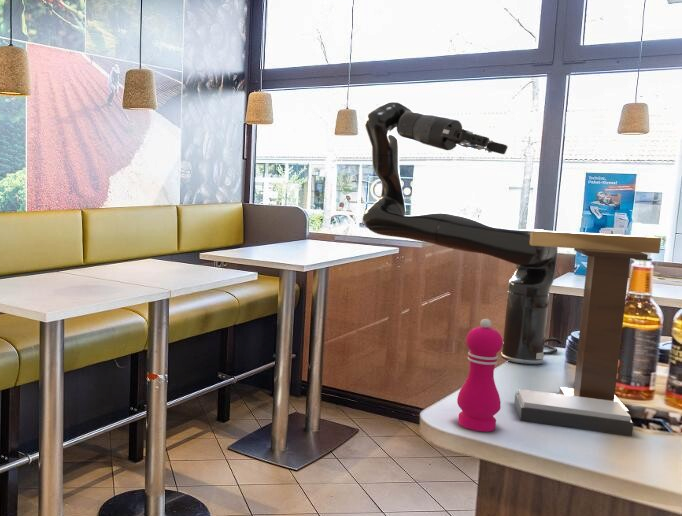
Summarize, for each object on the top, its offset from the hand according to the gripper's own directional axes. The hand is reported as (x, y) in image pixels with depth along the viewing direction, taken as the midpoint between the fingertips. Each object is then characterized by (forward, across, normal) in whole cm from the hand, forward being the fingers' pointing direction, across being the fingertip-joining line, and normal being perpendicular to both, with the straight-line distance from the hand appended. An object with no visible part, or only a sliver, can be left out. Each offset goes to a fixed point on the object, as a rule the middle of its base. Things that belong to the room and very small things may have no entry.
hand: (496, 146), depth 161 cm
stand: (+39, -3, -45) cm, 60 cm away
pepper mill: (+34, +29, -51) cm, 68 cm away
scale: (+41, +10, -47) cm, 63 cm away
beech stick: (+29, +3, -15) cm, 33 cm away
